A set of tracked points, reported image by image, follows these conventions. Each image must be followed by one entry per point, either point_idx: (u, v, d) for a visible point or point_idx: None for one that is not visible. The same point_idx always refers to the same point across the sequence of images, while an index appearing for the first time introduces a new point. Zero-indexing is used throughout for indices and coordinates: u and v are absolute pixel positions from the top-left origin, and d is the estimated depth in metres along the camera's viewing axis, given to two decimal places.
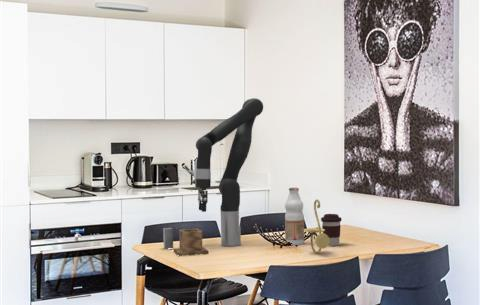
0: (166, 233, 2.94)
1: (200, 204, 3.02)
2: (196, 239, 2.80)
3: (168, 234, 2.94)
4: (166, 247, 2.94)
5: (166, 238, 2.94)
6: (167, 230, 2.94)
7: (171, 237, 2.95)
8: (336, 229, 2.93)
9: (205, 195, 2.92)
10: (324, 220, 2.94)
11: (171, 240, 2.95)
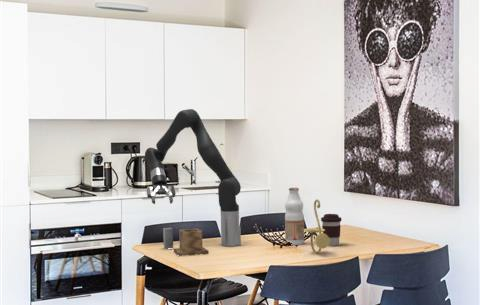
0: (166, 233, 2.94)
1: (169, 198, 3.10)
2: (196, 239, 2.80)
3: (168, 234, 2.94)
4: (166, 247, 2.94)
5: (166, 238, 2.94)
6: (167, 230, 2.94)
7: (171, 237, 2.95)
8: (336, 229, 2.93)
9: (147, 190, 3.09)
10: (324, 220, 2.94)
11: (171, 240, 2.95)
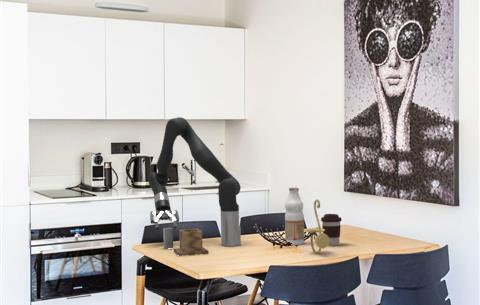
0: (166, 233, 2.94)
1: (173, 224, 3.04)
2: (196, 239, 2.80)
3: (168, 234, 2.94)
4: (166, 247, 2.94)
5: (166, 238, 2.94)
6: (167, 230, 2.94)
7: (171, 237, 2.95)
8: (336, 229, 2.93)
9: (150, 216, 3.03)
10: (324, 220, 2.94)
11: (171, 240, 2.95)
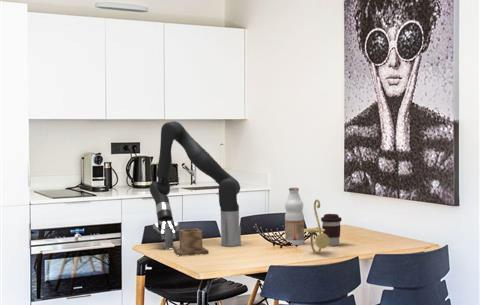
0: (166, 233, 2.94)
1: None
2: (196, 239, 2.80)
3: (168, 234, 2.94)
4: (166, 247, 2.94)
5: (166, 238, 2.94)
6: (167, 230, 2.94)
7: (171, 237, 2.95)
8: (336, 229, 2.93)
9: (154, 228, 2.97)
10: (324, 220, 2.94)
11: (171, 240, 2.95)
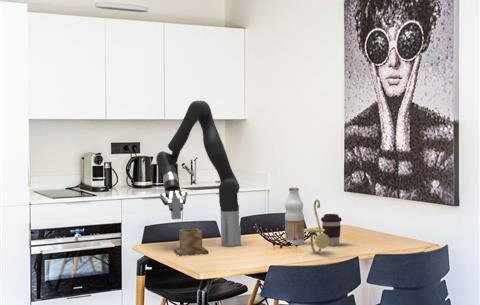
0: (173, 202, 2.89)
1: None
2: (196, 239, 2.80)
3: (176, 203, 2.90)
4: (174, 216, 2.89)
5: (174, 207, 2.89)
6: (174, 199, 2.90)
7: (179, 206, 2.90)
8: (336, 229, 2.93)
9: (161, 198, 2.93)
10: (324, 220, 2.94)
11: (179, 209, 2.90)
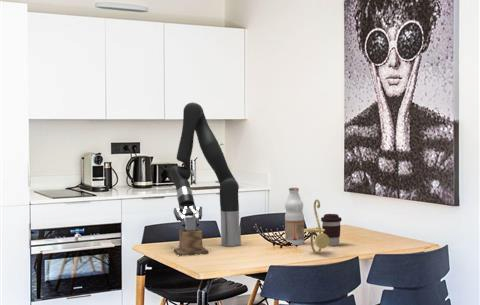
0: (188, 222, 2.82)
1: (195, 221, 2.85)
2: (196, 239, 2.80)
3: (191, 223, 2.82)
4: None
5: (188, 228, 2.82)
6: (189, 219, 2.82)
7: (193, 227, 2.82)
8: (336, 229, 2.93)
9: (175, 213, 2.85)
10: (324, 220, 2.94)
11: (193, 230, 2.82)
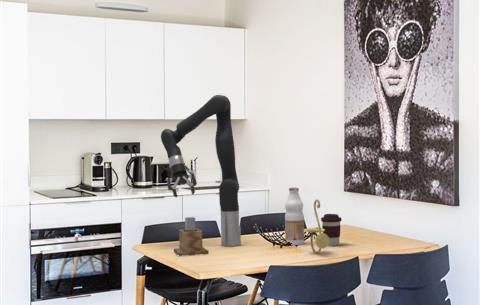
0: (188, 222, 2.82)
1: (191, 189, 3.01)
2: (196, 239, 2.80)
3: (191, 223, 2.82)
4: None
5: (188, 228, 2.82)
6: (189, 219, 2.82)
7: (193, 227, 2.82)
8: (336, 229, 2.93)
9: (167, 182, 2.99)
10: (324, 220, 2.94)
11: (193, 230, 2.82)
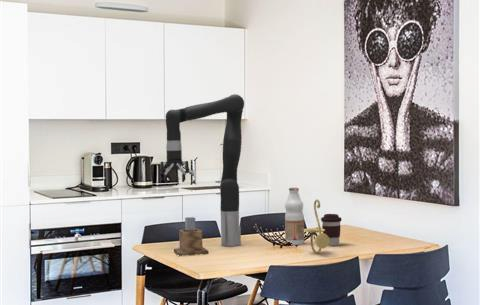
0: (188, 222, 2.82)
1: (182, 176, 3.04)
2: (196, 239, 2.80)
3: (191, 223, 2.82)
4: None
5: (188, 228, 2.82)
6: (189, 219, 2.82)
7: (193, 227, 2.82)
8: (336, 229, 2.93)
9: (160, 166, 3.00)
10: (324, 220, 2.94)
11: (193, 230, 2.82)
